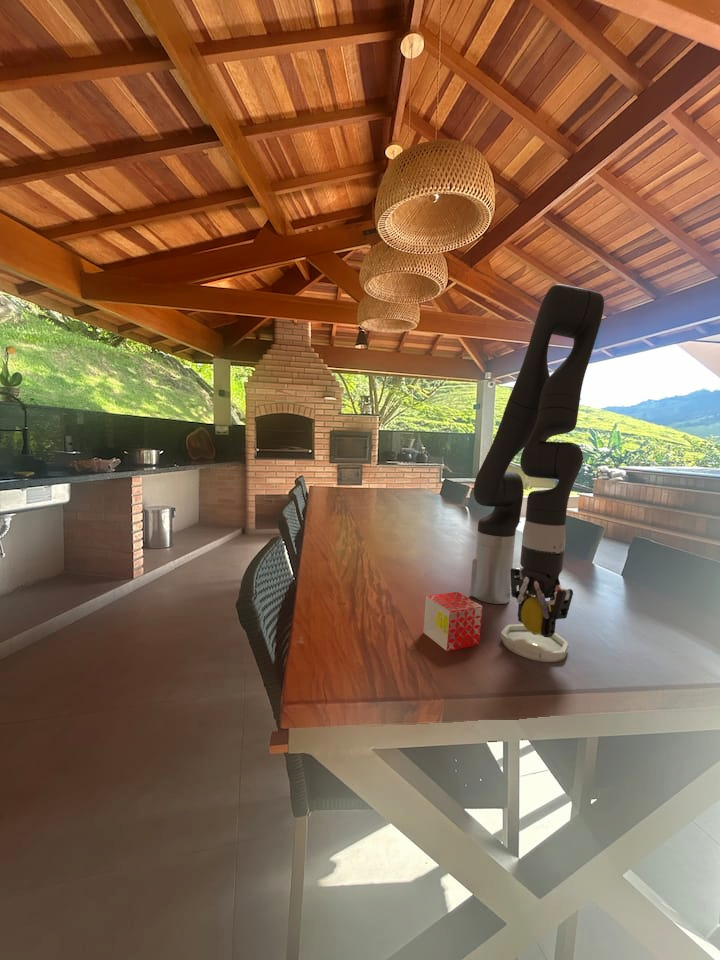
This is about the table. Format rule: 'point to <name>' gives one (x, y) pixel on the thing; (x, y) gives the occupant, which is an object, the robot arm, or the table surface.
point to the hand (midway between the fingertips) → (534, 628)
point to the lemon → (532, 615)
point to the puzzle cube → (452, 620)
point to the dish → (534, 644)
